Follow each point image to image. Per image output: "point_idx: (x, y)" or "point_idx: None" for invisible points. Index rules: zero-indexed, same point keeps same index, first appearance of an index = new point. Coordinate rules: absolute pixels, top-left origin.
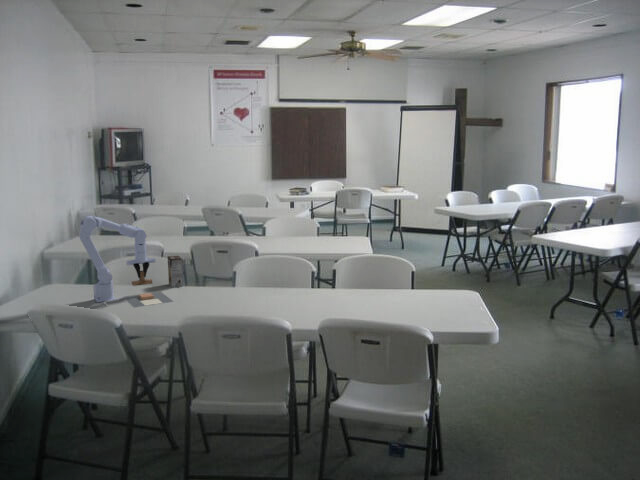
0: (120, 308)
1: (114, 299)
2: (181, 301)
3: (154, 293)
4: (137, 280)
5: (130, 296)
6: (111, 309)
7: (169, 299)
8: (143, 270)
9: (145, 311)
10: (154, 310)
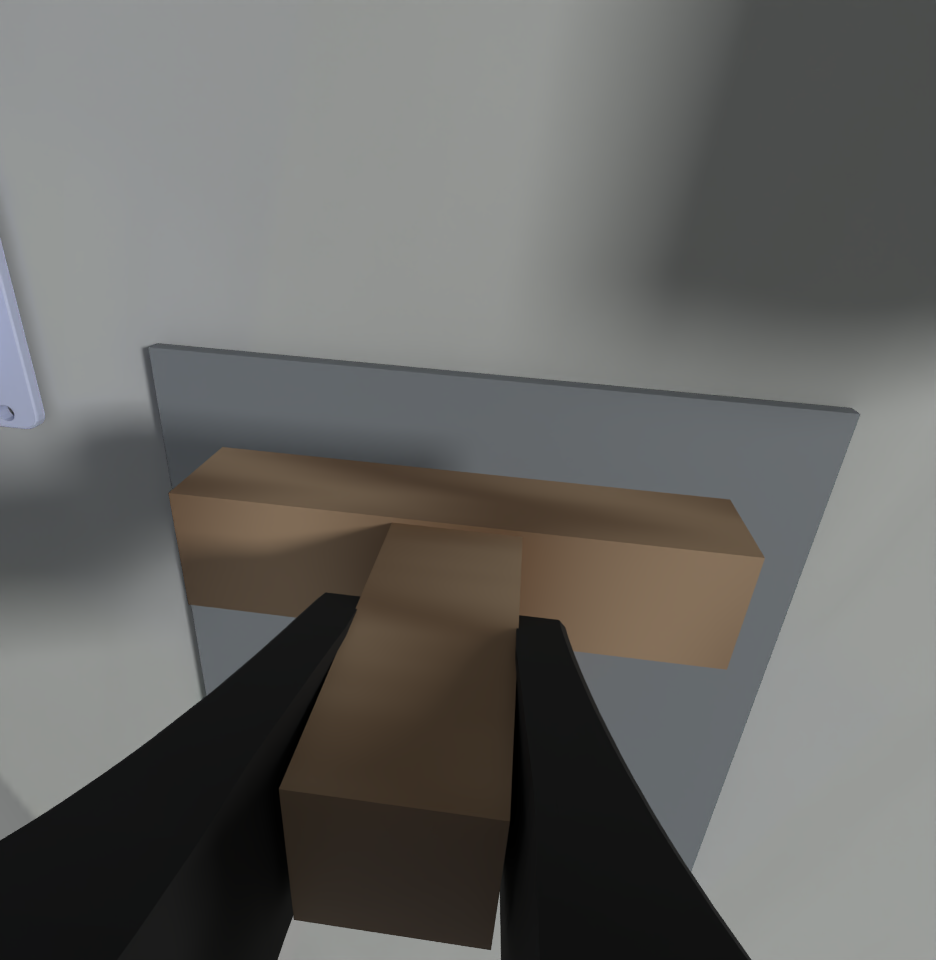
0: (101, 756)
1: (17, 425)
2: (773, 899)
3: (696, 464)
4: (337, 514)
5: (273, 407)
6: (8, 736)
7: (690, 825)
8: (527, 835)
9: (314, 931)
10: (396, 950)
